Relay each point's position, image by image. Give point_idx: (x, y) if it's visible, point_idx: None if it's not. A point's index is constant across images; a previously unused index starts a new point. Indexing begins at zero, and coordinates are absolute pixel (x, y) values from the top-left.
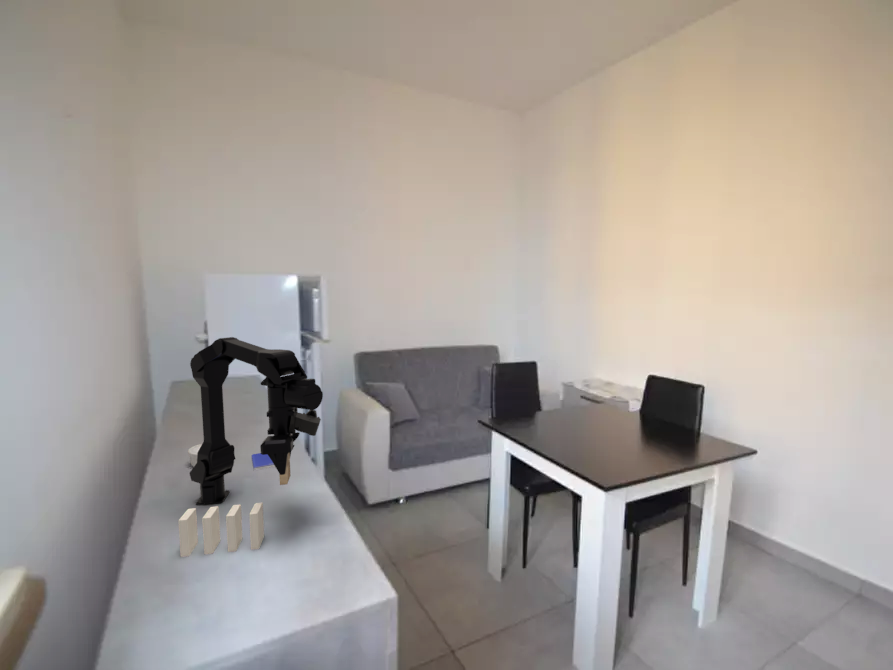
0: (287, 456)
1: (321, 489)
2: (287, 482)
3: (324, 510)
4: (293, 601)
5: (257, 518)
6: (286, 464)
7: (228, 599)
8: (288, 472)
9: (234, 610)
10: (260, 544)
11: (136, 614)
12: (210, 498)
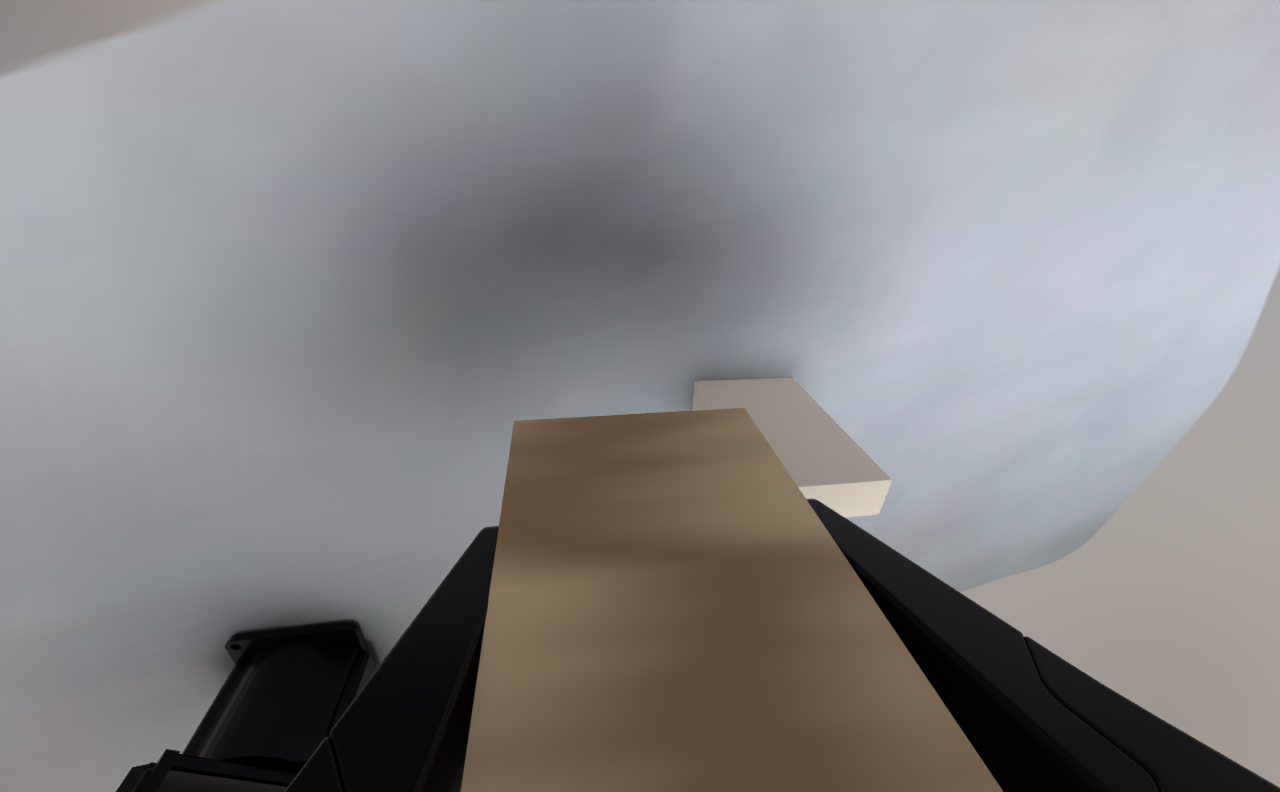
0: (1089, 734)
1: (18, 98)
2: (727, 414)
3: (442, 50)
4: (1205, 168)
5: (871, 460)
6: (894, 585)
7: (1039, 394)
8: (654, 466)
9: (1102, 362)
10: (766, 380)
11: (960, 569)
12: (366, 676)
